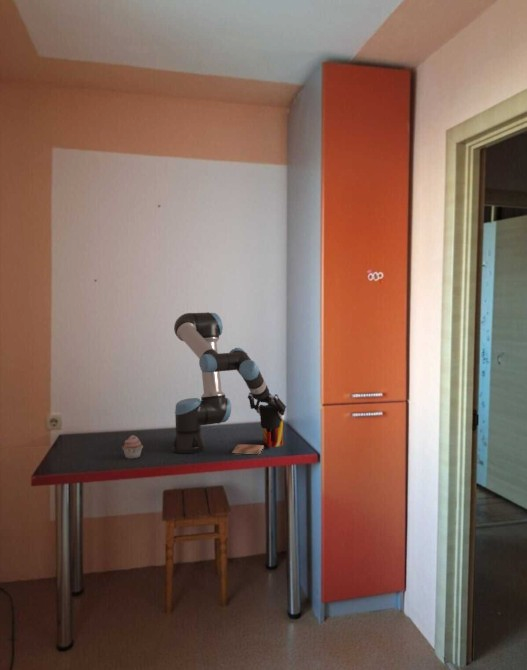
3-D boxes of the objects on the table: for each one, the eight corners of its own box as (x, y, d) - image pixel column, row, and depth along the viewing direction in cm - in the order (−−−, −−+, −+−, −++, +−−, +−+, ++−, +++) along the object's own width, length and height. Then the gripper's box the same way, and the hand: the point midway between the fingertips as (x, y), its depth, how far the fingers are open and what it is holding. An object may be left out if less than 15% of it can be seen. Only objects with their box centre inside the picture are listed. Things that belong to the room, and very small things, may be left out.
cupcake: (126, 461, 219) (126, 438, 218) (119, 456, 226) (118, 434, 226) (147, 457, 224) (146, 435, 224) (138, 452, 232) (138, 431, 231)
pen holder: (278, 429, 224) (278, 407, 224) (258, 429, 226) (258, 406, 225) (282, 424, 233) (282, 403, 233) (262, 424, 235) (262, 402, 235)
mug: (268, 450, 234) (268, 424, 234) (260, 442, 248) (260, 418, 247) (288, 448, 237) (288, 423, 236) (279, 440, 250) (279, 416, 250)
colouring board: (232, 454, 228) (232, 451, 228) (238, 446, 240) (237, 443, 240) (259, 455, 226) (259, 452, 226) (263, 447, 238) (263, 444, 238)
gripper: (232, 393, 219) (249, 421, 235) (279, 397, 210) (293, 426, 225) (238, 379, 224) (253, 408, 239) (284, 382, 215) (297, 412, 230)
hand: (273, 417), depth 232 cm, fingers closed on pen holder, 9 cm apart
